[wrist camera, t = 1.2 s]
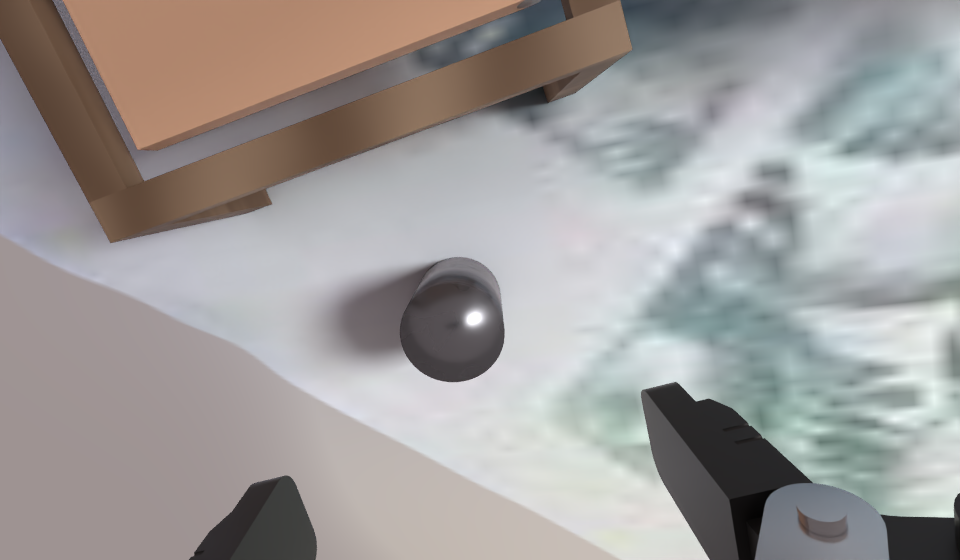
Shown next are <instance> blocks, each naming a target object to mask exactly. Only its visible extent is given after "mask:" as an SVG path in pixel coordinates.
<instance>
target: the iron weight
mask: <svg viewBox="0 0 960 560" xmlns="http://www.w3.org/2000/svg"><path fill="white" fill-rule="evenodd" d="M400 338H401V343H402V347H403V350H404V352H405V354H406V356H407V357H408V359H409V360H410V362H411V363H412V364H413V365H414V366H415V367H416V368H417V369H418V370H419V371H421V372H422V373H424V374H425V375H427V376H429V377H431V378H434V379H436V380H440V381H445V382H461V381H466V380H470V379H473V378H475V377H477V376H479V375H481V374H483V373H484V372H485V371H487V370H488V369H489V368H490V367H491V366H492V365H493V364H494V363H495V361H496V360H497V358H498V357H499V355H500V352H501V350H502V347H503V344H504V322H503V312H502V303H501V294H500V288H499V285H498V282H497V280H496V278H495V277H494V275H493V274H492V272H491V271H490V270H489V269H488V268H487V267H485V266H484V265H483V264H481V263H479V262H478V261H475V260H473V259H469V258H463V257H454V258H449V259H445V260H443V261H440V262H439V263H437V264H435V265H434V266H433V267H431V268H430V269H429V270H428V271H427V273H426V274H425V275H424V277H423V279H422V281H421V283H420V284H419V286H418V288H417V290H416V292H415V294H414V295H413V297H412V299H411V301H410V303H409V305H408V307H407V308H406V310H405V312H404V315H403V317H402V321H401V326H400Z"/></svg>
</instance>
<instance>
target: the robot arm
mask: <svg viewBox="0 0 960 560" xmlns="http://www.w3.org/2000/svg"><path fill="white" fill-rule="evenodd" d="M641 398H642V404H643V409H644V414H645V419H646V424H647V429H648V434H649V439H650V444H651V450H652V454H653V458H654V461H655V464H656V467H657V470H658V472H659V475H660V477H661V479H662V481H663V483H664V485H665V486H666V488H667V490H668V491H669V493H670V495H671V496H672V498H673V500H674V501H675V503H676V505H677V506H678V508H679V510H680V511H681V513H682V514H683V516H684V518H685V519H686V521H687V523H688V524H689V526H690V528H691V529H692V531H693V533H694V534H695V536H696V538H697V539H698V541H699V543H700V544H701V546H702V547H703V549H704V551H705V552H706V554H707V556H708V557H709V559H710V560H960V493H959V494H958V495H957V497H956V498H955V502H954V518H938V517H900V516H887V515H880V514H879V513H878V512H877V510H876V509H875V508H873V507H872V506H871V505H870V504H869V503H867V502H866V501H864V500H863V499H862V498H860V497H858V496H856V495H854V494H852V493H850V492H847V491H845V490H842V489H839V488H836V487H833V486H828V485H823V484H815V483H812V482H811V481H810V480H809V479H808V478H807V477H806V476H805V475H804V474H803V473H802V472H801V471H799V470H798V469H797V468H796V467H795V466H794V465H793V464H792V463H791V462H790V461H789V460H788V459H786V458H785V457H784V456H783V455H782V454H781V453H780V452H779V451H778V450H777V449H776V448H775V447H773V446H772V445H771V444H770V443H769V442H768V441H767V440H766V439H765V438H764V439H763V438H762V436H761V435H760V434H759V433H758V432H757V431H756V430H755V429H754V428H753V427H752V426H749V425H748V423H747V422H746V421H745V420H744V419H743V418H742V417H741V416H740V415H739V414H738V413H737V412H736V411H734V410H733V409H732V408H730V407H728V406H725V405H723V404H721V403H718V402H716V401H714V400H711V399H706V400H701V401H697V402H696V401H695V400H694V399H693V398H692V397H691V396H690V395H689V394H688V393H687V392H686V391H685V390H684V389H683V388H682V387H681V386H680V385H679V384H678V383H677V382H674V383H669V384H665V385H661V386H657V387H653V388H649V389H645V390H642V392H641ZM316 551H317V545H316V536H315V532H314V529H313V527H312V525H311V522H310V519H309V517H308V514H307V512H306V509H305V507H304V504H303V502H302V499H301V497H300V494H299V492H298V489H297V487H296V484H295V482H294V481H293V479H292V478H291V477H289V476H282V477H278V478H274V479H270V480H265V481H262V482H257V483H254V484H252V485H251V486H250V487H249V488H248V490H247V491H246V493H245V494H244V496H243V497H242V498H241V500H240V501H239V502H238V504H237V505H236V507H235V508H234V510H233V511H232V512H231V513H230V514H229V515H228V516H226V518H224V519H223V520H222V521H221V522H220V523H219V524H218V525H217V526H216V527H214V528H213V529H212V530H211V531H210V532H209V533H208V535H207V536H206V537H205V539H204V540H203V542H202V543H201V544H200V546H199V547H198V548H197V550H196V551H195V552H194V554H195V555H194V556H193V557H191V558H190V559H189V560H315V559H316Z"/></svg>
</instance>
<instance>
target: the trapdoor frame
mask: <svg viewBox="0 0 960 560" xmlns="http://www.w3.org/2000/svg"><path fill="white" fill-rule="evenodd" d="M561 2H562V6H563V9H564V13H565V17H566V21H564V22H561V23H558V24H556V25H553V26H550V27H548V28H545V29H543V30H540V31H537V32H535V33H532V34H530V35H527V36H524V37H522V38H519V39H516V40H514V41H511V42H509V43H506V44H503V45H501V46H498V47H495V48H493V49H490V50H488V51H485V52H482V53H480V54H477V55H474V56H472V57H469V58H467V59H464V60H461V61H459V62H456V63H454V64H451V65H448V66H446V67H443V68H440V69H438V70H435V71H433V72H430V73H427V74H425V75H422V76H419V77H417V78H414V79H412V80H409V81H406V82H404V83H401V84H399V85H396V86H393V87H391V88H388V89H385V90H383V91H380V92H378V93H375V94H372V95H370V96H367V97H364V98H362V99H359V100H357V101H354V102H351V103H349V104H346V105H343V106H341V107H338V108H336V109H333V110H330V111H328V112H325V113H323V114H320V115H317V116H315V117H312V118H309V119H307V120H304V121H302V122H299V123H296V124H294V125H291V126H288V127H286V128H283V129H281V130H278V131H275V132H273V133H270V134H267V135H265V136H262V137H260V138H257V139H254V140H252V141H249V142H247V143H244V144H241V145H239V146H236V147H233V148H231V149H228V150H226V151H223V152H220V153H218V154H215V155H212V156H210V157H207V158H205V159H202V160H199V161H197V162H194V163H192V164H189V165H186V166H184V167H181V168H178V169H176V170H173V171H171V172H168V173H165V174H163V175H160V176H157V177H155V178H152V179H150V180H147V181H144V180H143V178H142V176H141V174H140V172H139V170H138V168H137V166H136V164H135V162H134V160H133V159H132V157H131V155H130V153H129V151H128V149H127V147H126V145H125V143H124V141H123V139H122V137H121V135H120V133H119V131H118V129H117V127H116V125H115V123H114V121H113V119H112V117H111V115H110V113H109V111H108V109H107V107H106V105H105V103H104V101H103V99H102V97H101V95H100V93H99V91H98V90H97V88H96V86H95V84H94V82H93V80H92V78H91V76H90V74H89V72H88V70H87V68H86V66H85V64H84V62H83V60H82V58H81V56H80V54H79V52H78V50H77V48H76V46H75V44H74V42H73V40H72V38H71V36H70V34H69V32H68V30H67V28H66V26H65V24H64V22H63V20H62V19H61V17H60V15H59V13H58V11H57V9H56V7H55V5H54V3H53V1H52V0H0V39H1V41H2V43H3V45H4V46H5V48H6V50H7V52H8V54H9V56H10V58H11V59H12V61H13V63H14V65H15V67H16V69H17V70H18V72H19V74H20V76H21V78H22V80H23V82H24V83H25V85H26V87H27V89H28V91H29V93H30V95H31V96H32V98H33V100H34V102H35V104H36V106H37V108H38V109H39V111H40V113H41V115H42V117H43V119H44V120H45V122H46V124H47V126H48V128H49V130H50V132H51V133H52V135H53V137H54V139H55V141H56V143H57V145H58V146H59V148H60V150H61V152H62V154H63V156H64V158H65V159H66V161H67V163H68V165H69V167H70V169H71V170H72V172H73V174H74V176H75V178H76V180H77V182H78V183H79V185H80V187H81V189H82V191H83V193H84V195H85V196H86V198H87V200H88V202H89V204H90V206H91V208H92V209H93V211H94V213H95V215H96V217H97V219H98V220H99V222H100V224H101V226H102V228H103V230H104V232H105V233H106V235H107V237H108V239H109V241H110V243H113V242H118V241H122V240H127V239H131V238H136V237H140V236H145V235H150V234H154V233H159V232H163V231H168V230H172V229H177V228H181V227H186V226H191V225H195V224H200V223H204V222H209V221H213V220H218V219H223V218H227V217H232V216H236V215H241V214H245V213H249V212H252V211H255V210H257V209H260V208H263V207H265V206H268V205H271V204H272V203H271V201H270V198H269V196H268V194H267V192H266V188H269V187H272V186H274V185H277V184H280V183H282V182H285V181H288V180H291V179H293V178H296V177H299V176H301V175H304V174H307V173H309V172H312V171H315V170H318V169H320V168H323V167H326V166H328V165H331V164H334V163H336V162H339V161H342V160H345V159H347V158H350V157H353V156H355V155H358V154H361V153H364V152H366V151H369V150H372V149H374V148H377V147H380V146H382V145H385V144H388V143H391V142H393V141H396V140H399V139H401V138H404V137H407V136H409V135H412V134H415V133H418V132H420V131H423V130H426V129H428V128H431V127H434V126H436V125H439V124H442V123H445V122H447V121H450V120H453V119H455V118H458V117H461V116H463V115H466V114H469V113H472V112H474V111H477V110H480V109H482V108H485V107H488V106H490V105H493V104H496V103H499V102H501V101H504V100H507V99H509V98H512V97H515V96H517V95H520V94H523V93H526V92H528V91H531V90H534V89H536V88H539V87H542V86H543V89H544V92H545V95H546V99H547V102H548V103H549V102H552V101H555V100H557V99H560V98H563V97H566V96H568V95H571V94H574V93H576V92H577V91H579V90H580V89H581V88H582V87H584V86H585V85H586V84H588V83H589V82H590V81H592V80H593V79H594V78H596V77H597V76H598V75H600V74H601V73H602V72H604V71H605V70H606V69H607V68H609V67H610V66H611V65H613V64H614V63H615V62H617V61H618V60H619V59H621V58H622V57H623V56H625V55H626V54H627V53H628V52H630V51H631V50H632V46H631V42H630V38H629V34H628V30H627V26H626V22H625V18H624V14H623V10H622V6H621V2H620V0H561Z"/></svg>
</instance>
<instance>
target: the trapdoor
mask: <svg viewBox="0 0 960 560" xmlns="http://www.w3.org/2000/svg"><path fill="white" fill-rule="evenodd" d="M540 1H542V0H63V2H64V4H65V6H66V8H67V10H68V12H69V14H70V16H71V18H72V20H73V22H74V24H75V26H76V28H77V30H78V32H79V34H80V36H81V38H82V40H83V42H84V44H85V46H86V48H87V50H88V52H89V54H90V56H91V58H92V60H93V62H94V63H95V65H96V67H97V69H98V71H99V73H100V75H101V77H102V79H103V81H104V83H105V85H106V87H107V89H108V91H109V93H110V95H111V97H112V99H113V101H114V103H115V105H116V107H117V109H118V111H119V113H120V115H121V117H122V119H123V121H124V123H125V125H126V127H127V129H128V131H129V133H130V135H131V137H132V139H133V141H134V143H135V145H136V147H137V149H138V150H157V151H158V150H160V149H163V148H166V147H168V146H171V145H173V144H176V143H178V142H181V141H184V140H186V139H189V138H191V137H194V136H197V135H199V134H202V133H204V132H207V131H209V130H212V129H215V128H217V127H220V126H222V125H225V124H228V123H230V122H233V121H235V120H238V119H240V118H243V117H246V116H248V115H251V114H253V113H256V112H259V111H261V110H264V109H266V108H269V107H271V106H274V105H277V104H279V103H282V102H284V101H287V100H290V99H292V98H295V97H297V96H300V95H302V94H305V93H308V92H310V91H313V90H315V89H318V88H320V87H323V86H326V85H328V84H331V83H333V82H336V81H339V80H341V79H344V78H346V77H349V76H351V75H354V74H357V73H359V72H362V71H364V70H367V69H370V68H372V67H375V66H377V65H380V64H382V63H385V62H388V61H390V60H393V59H395V58H398V57H401V56H403V55H406V54H408V53H411V52H413V51H416V50H419V49H421V48H424V47H426V46H429V45H432V44H434V43H437V42H439V41H442V40H444V39H447V38H450V37H452V36H455V35H457V34H460V33H462V32H465V31H468V30H470V29H473V28H475V27H478V26H481V25H483V24H486V23H488V22H491V21H493V20H496V19H499V18H501V17H504V16H506V15H509V14H512V13H514V12H517V11H519V10H522V9H524V8H527V7H530V6H532V5H534V4H536V3H538V2H540Z"/></svg>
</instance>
